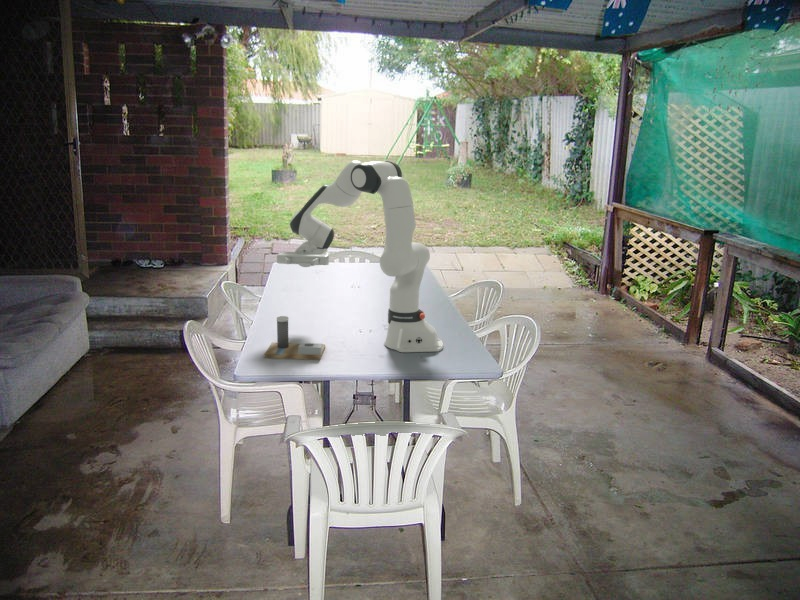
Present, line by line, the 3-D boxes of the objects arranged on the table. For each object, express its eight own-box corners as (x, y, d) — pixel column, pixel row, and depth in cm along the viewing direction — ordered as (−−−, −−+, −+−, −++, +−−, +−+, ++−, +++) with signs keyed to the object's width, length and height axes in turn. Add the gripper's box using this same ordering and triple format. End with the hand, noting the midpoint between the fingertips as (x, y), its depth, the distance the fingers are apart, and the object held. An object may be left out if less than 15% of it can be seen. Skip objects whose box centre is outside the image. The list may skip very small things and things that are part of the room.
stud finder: (322, 351, 248) (322, 343, 247) (320, 355, 244) (320, 347, 243) (300, 350, 248) (300, 342, 247) (298, 354, 244) (298, 346, 243)
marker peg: (289, 344, 253) (289, 316, 251) (287, 348, 249) (287, 319, 246) (278, 344, 253) (277, 316, 251) (276, 348, 249) (275, 319, 247)
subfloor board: (325, 348, 256) (325, 344, 255) (320, 359, 243) (320, 355, 243) (272, 346, 256) (271, 342, 256) (264, 357, 244) (264, 353, 243)
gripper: (279, 247, 272) (272, 253, 259) (331, 248, 272) (326, 255, 259) (280, 262, 274) (273, 269, 261) (331, 264, 274) (326, 271, 260)
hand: (300, 262), depth 260 cm, fingers open, 8 cm apart
